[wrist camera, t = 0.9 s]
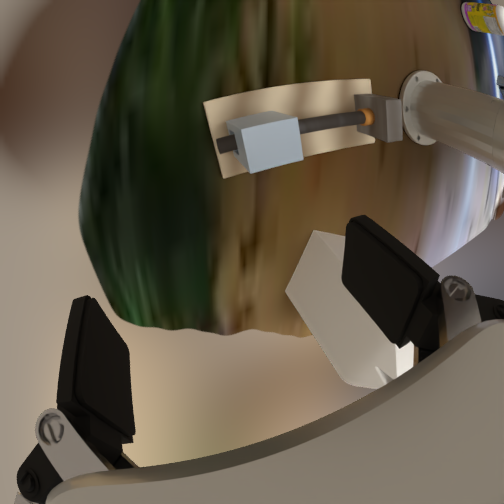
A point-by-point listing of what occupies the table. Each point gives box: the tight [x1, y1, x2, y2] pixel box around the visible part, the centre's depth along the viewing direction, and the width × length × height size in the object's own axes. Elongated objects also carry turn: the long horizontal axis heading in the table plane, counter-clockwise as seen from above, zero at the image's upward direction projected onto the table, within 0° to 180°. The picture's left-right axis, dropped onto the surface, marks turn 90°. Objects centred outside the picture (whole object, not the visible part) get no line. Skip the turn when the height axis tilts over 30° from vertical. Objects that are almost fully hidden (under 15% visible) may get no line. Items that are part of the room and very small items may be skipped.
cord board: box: [203, 79, 402, 179], centre depth 26 cm, size 21×9×7 cm, turn 102°
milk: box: [285, 230, 414, 389], centre depth 33 cm, size 12×12×26 cm
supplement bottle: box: [461, 2, 504, 36], centre depth 16 cm, size 7×7×13 cm
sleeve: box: [226, 111, 303, 174], centre depth 24 cm, size 5×4×6 cm
